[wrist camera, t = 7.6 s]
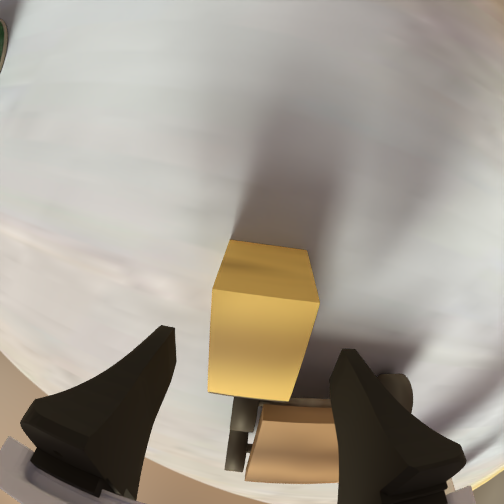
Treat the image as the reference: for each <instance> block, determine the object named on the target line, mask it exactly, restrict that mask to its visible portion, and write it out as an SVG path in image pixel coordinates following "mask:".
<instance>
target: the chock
mask: <svg viewBox="0 0 504 504" xmlns="http://www.w3.org/2000/svg"><path fill="white" fill-rule="evenodd" d="M319 305H320V301H319V297H318V292H317V288H316V284H315V280H314V276H313V272H312V268H311V264H310V260H309V257H308V253H307V250H302V249H295V248H287V247H280V246H273V245H265V244H258V243H251V242H243V241H236V240H230V241H229V243H228V246H227V249H226V252H225V255H224V257H223V260H222V263H221V266H220V269H219V271H218V274H217V277H216V280H215V283H214V286H213V289H212V304H211V322H210V342H209V365H208V392H209V393H214V394H220V395H226V396H233V397H241V398H249V399H258V400H267V401H278V402H286V401H289V399H290V396H291V394H292V391H293V388H294V385H295V382H296V379H297V376H298V373H299V370H300V367H301V364H302V361H303V358H304V355H305V352H306V348H307V345H308V342H309V339H310V335H311V332H312V329H313V325H314V322H315V319H316V315H317V312H318V308H319Z"/></svg>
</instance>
